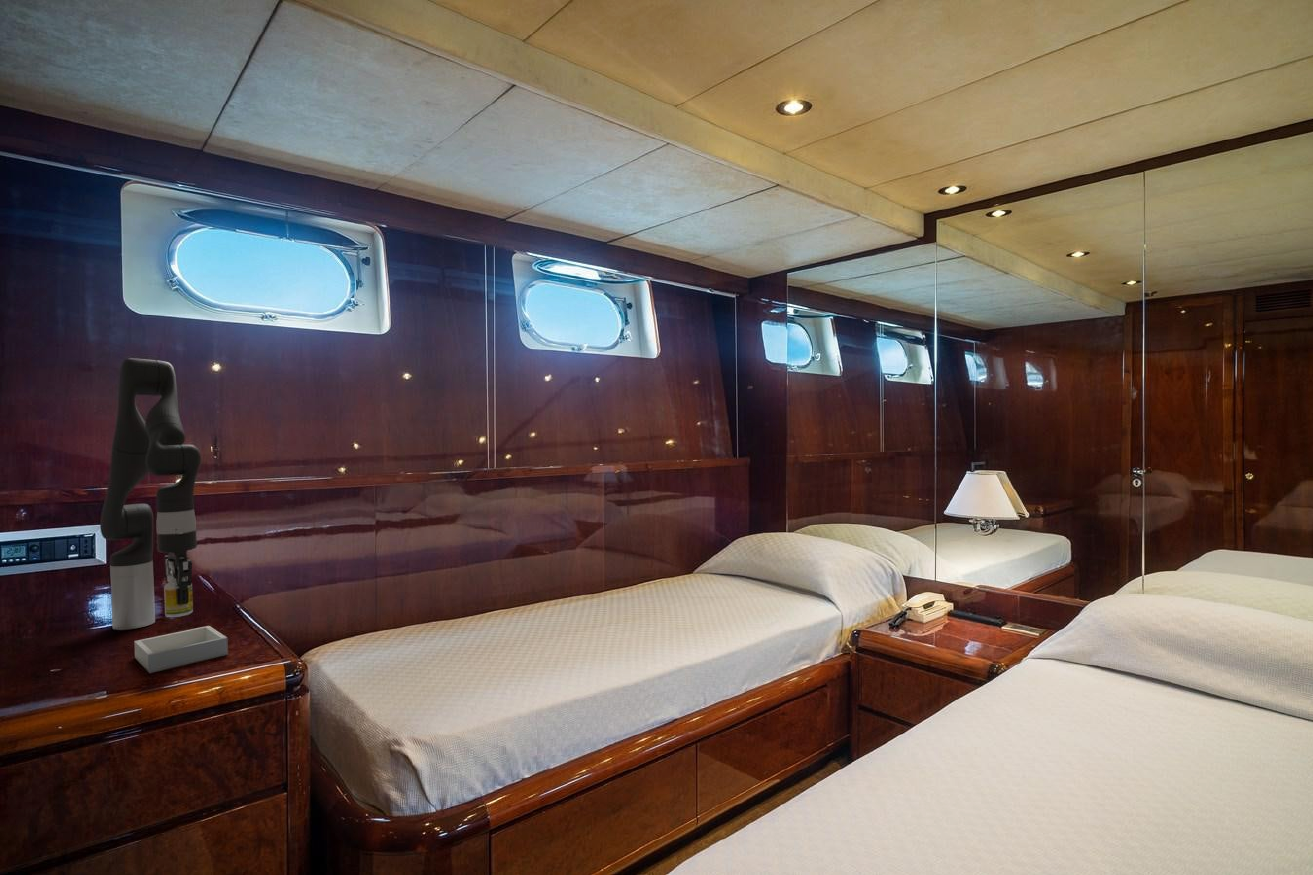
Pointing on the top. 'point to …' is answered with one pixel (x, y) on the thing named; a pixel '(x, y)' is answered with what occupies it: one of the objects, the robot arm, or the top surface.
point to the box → (180, 648)
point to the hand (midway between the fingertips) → (179, 601)
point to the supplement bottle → (171, 600)
